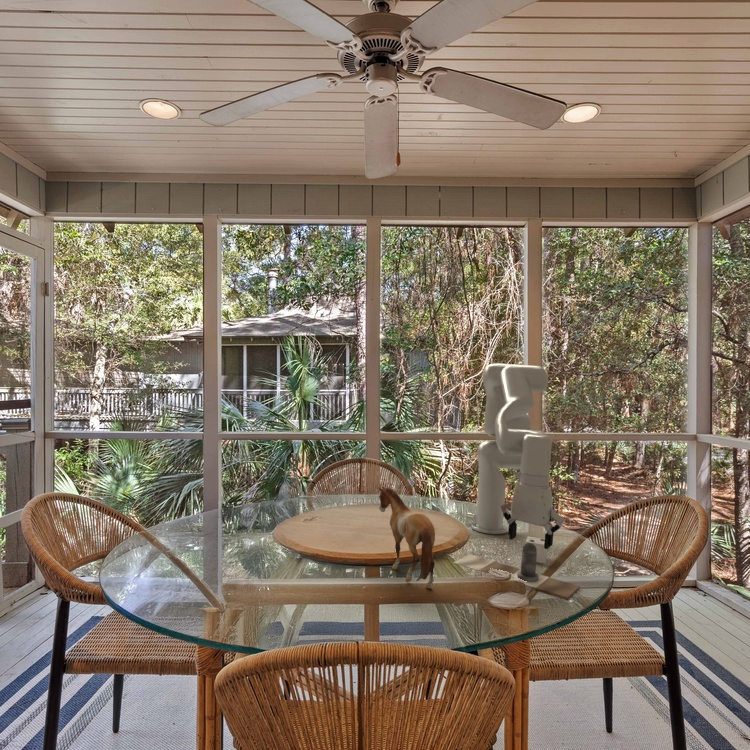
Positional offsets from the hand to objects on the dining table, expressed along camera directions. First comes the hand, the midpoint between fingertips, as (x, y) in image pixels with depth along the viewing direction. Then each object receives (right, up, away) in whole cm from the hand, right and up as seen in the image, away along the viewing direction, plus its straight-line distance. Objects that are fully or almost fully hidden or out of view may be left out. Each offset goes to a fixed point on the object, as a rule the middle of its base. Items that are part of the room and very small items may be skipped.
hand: (529, 542), depth 140 cm
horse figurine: (-36, -8, -4) cm, 37 cm away
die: (+7, -10, +15) cm, 20 cm away
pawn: (-1, -9, -1) cm, 9 cm away
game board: (-4, -10, +2) cm, 11 cm away
